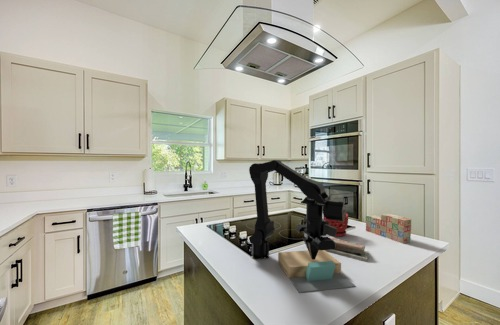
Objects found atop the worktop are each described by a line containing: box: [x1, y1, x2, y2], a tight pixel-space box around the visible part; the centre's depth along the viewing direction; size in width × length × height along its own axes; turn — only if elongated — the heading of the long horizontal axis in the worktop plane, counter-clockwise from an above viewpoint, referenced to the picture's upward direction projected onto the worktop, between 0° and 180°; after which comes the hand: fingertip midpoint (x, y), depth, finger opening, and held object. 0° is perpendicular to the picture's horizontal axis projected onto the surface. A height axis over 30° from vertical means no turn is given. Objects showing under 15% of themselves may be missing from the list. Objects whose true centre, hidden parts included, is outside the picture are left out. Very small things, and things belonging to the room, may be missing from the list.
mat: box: [288, 272, 356, 294], centre depth 73 cm, size 20×8×1 cm, turn 101°
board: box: [277, 249, 342, 279], centre depth 83 cm, size 20×12×4 cm, turn 101°
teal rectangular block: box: [306, 261, 336, 281], centre depth 74 cm, size 9×6×2 cm
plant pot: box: [322, 212, 349, 237], centre depth 121 cm, size 13×13×12 cm
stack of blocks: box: [365, 212, 412, 245], centre depth 120 cm, size 21×6×12 cm, turn 25°
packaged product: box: [325, 237, 370, 262], centre depth 98 cm, size 18×5×10 cm
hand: (313, 259), depth 79 cm, fingers closed
